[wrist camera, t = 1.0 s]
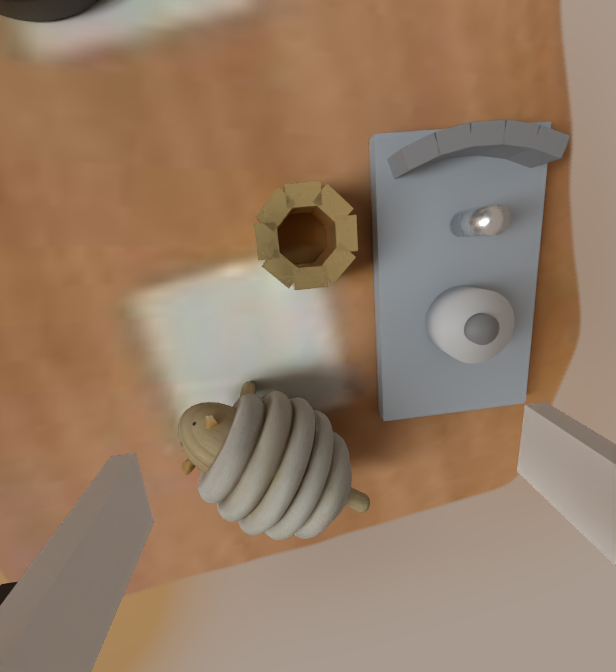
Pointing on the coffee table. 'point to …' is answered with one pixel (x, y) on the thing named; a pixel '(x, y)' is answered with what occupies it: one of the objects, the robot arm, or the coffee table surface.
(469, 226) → the pin
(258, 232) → the gold octagonal ring
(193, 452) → the toy sheep
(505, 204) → the carrier plate
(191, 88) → the coffee table surface
